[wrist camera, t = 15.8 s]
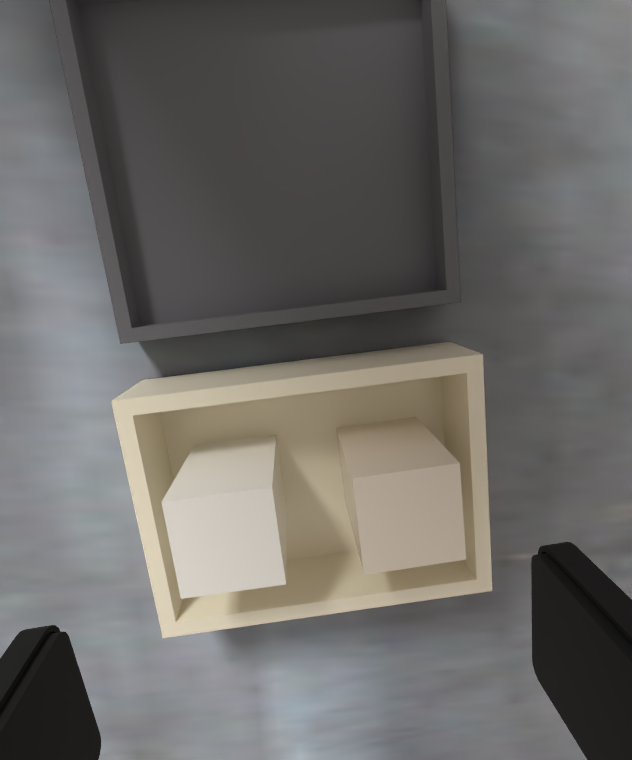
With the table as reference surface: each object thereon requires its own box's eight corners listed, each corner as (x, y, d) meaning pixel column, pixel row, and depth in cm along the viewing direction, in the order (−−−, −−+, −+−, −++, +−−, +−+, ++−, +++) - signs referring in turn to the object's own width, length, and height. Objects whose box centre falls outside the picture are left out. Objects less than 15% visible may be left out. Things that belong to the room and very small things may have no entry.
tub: (142, 380, 22) (111, 400, 18) (449, 341, 23) (483, 354, 19) (182, 581, 25) (162, 637, 21) (460, 542, 25) (492, 590, 21)
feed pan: (65, -3, 19) (42, -32, 17) (428, -38, 19) (442, -70, 18) (134, 338, 22) (120, 343, 20) (447, 300, 22) (460, 302, 21)
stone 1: (194, 445, 23) (161, 502, 17) (276, 434, 23) (271, 487, 17) (207, 519, 23) (180, 599, 18) (286, 508, 24) (286, 584, 18)
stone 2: (335, 428, 23) (352, 478, 17) (415, 416, 23) (459, 463, 17) (345, 502, 24) (363, 575, 18) (422, 490, 24) (466, 559, 18)
